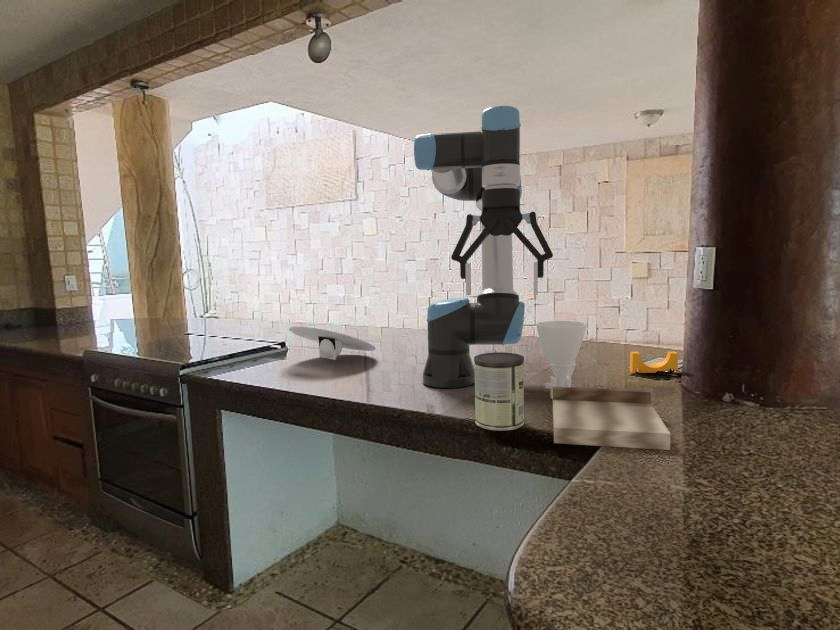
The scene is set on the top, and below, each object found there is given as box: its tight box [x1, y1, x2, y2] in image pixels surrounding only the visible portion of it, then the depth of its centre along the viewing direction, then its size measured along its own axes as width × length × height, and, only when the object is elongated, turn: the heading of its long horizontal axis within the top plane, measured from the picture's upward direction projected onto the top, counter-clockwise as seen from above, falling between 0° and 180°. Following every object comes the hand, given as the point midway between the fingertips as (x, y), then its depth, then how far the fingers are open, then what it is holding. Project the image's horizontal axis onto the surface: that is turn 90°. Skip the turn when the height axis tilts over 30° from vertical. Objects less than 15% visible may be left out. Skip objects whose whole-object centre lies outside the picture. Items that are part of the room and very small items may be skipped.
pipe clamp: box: [629, 351, 679, 374], centre depth 148 cm, size 12×4×6 cm, turn 82°
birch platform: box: [552, 386, 672, 451], centre depth 105 cm, size 20×20×6 cm
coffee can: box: [473, 351, 525, 432], centre depth 109 cm, size 10×10×14 cm
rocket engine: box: [536, 320, 587, 400], centre depth 126 cm, size 12×12×18 cm
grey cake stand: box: [288, 326, 377, 361], centre depth 182 cm, size 28×19×27 cm
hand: (501, 294), depth 107 cm, fingers open, 13 cm apart
